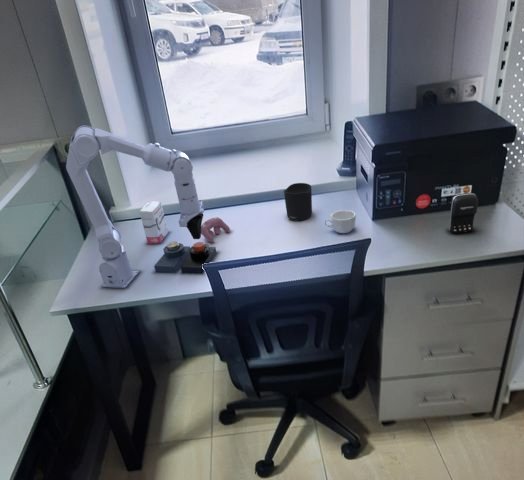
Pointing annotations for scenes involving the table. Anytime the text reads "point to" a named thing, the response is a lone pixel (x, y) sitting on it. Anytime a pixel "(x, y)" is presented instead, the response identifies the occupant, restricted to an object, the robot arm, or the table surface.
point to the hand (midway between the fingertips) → (197, 238)
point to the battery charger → (463, 213)
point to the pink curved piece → (215, 224)
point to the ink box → (154, 222)
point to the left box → (172, 259)
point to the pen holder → (298, 201)
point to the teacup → (342, 221)
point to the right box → (198, 260)
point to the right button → (199, 246)
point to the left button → (173, 246)
